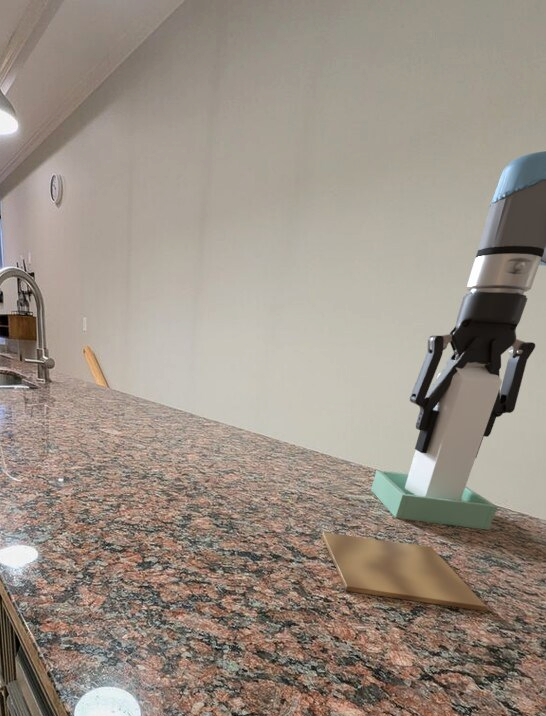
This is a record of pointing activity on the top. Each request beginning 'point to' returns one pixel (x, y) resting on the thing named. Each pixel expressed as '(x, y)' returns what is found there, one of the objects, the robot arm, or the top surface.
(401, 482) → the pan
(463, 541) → the top surface
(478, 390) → the milk
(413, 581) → the cork mat
